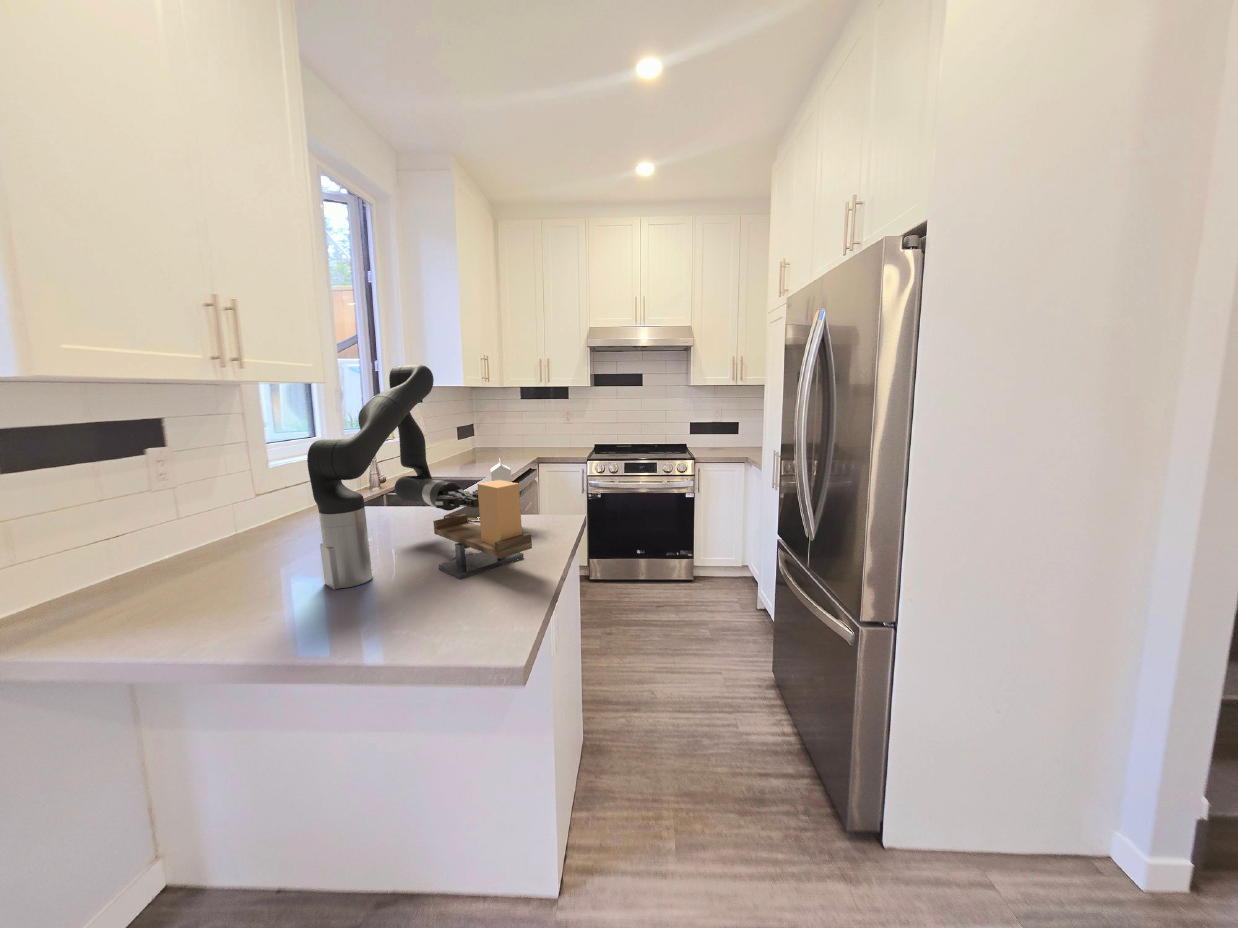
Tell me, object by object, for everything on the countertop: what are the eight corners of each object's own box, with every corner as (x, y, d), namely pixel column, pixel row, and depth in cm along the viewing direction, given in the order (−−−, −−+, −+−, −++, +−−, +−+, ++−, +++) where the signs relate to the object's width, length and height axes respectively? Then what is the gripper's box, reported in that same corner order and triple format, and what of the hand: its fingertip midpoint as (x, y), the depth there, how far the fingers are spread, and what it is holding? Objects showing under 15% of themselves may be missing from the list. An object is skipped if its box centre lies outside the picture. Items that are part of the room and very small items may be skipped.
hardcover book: (518, 507, 186) (518, 501, 186) (485, 524, 164) (484, 517, 164) (481, 505, 191) (480, 499, 190) (443, 521, 169) (443, 515, 169)
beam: (532, 551, 117) (531, 533, 117) (499, 562, 111) (498, 543, 110) (465, 529, 138) (464, 513, 137) (434, 537, 131) (433, 520, 130)
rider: (501, 547, 113) (497, 487, 111) (481, 541, 119) (477, 483, 117) (522, 541, 118) (518, 483, 116) (502, 535, 123) (499, 479, 121)
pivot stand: (523, 558, 128) (521, 533, 127) (460, 579, 115) (457, 552, 114) (501, 550, 135) (499, 527, 134) (439, 569, 122) (436, 543, 121)
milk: (495, 532, 153) (489, 461, 149) (494, 527, 158) (488, 458, 155) (515, 530, 154) (510, 459, 151) (513, 524, 160) (508, 457, 156)
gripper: (417, 485, 129) (450, 493, 118) (463, 477, 139) (498, 484, 127) (419, 513, 131) (453, 523, 119) (465, 503, 140) (500, 512, 128)
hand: (476, 503), depth 123 cm, fingers closed
